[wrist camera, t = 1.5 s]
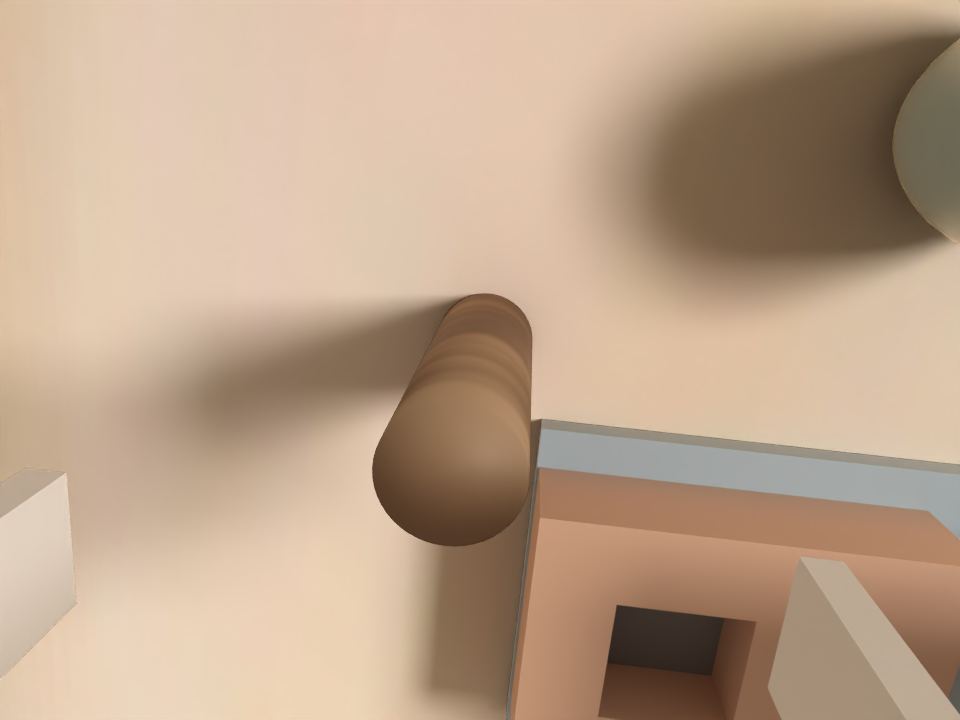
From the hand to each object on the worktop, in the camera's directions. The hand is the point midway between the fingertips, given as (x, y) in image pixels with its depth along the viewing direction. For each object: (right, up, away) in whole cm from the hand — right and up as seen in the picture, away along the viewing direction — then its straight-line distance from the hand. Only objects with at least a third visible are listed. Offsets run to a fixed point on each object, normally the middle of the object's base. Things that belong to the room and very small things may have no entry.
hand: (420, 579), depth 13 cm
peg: (+1, +5, +15) cm, 16 cm away
